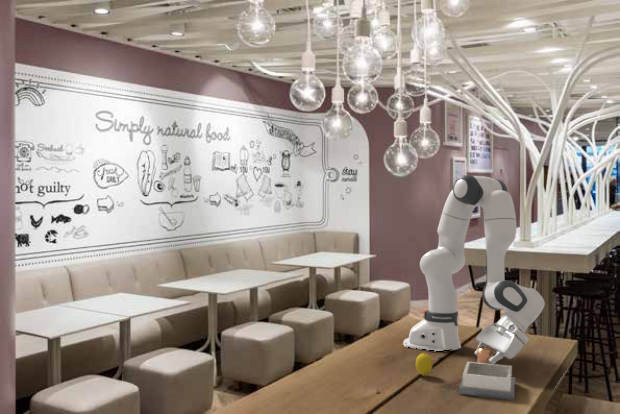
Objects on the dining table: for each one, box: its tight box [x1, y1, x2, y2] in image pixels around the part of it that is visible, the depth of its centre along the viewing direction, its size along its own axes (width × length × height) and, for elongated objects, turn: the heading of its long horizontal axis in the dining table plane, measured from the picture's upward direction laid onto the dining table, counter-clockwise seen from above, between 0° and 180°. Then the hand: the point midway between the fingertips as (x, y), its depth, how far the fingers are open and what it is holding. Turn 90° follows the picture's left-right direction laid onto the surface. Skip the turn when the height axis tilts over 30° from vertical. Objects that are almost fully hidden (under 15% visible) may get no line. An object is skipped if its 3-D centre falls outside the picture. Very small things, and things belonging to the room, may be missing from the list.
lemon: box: [415, 352, 433, 377], centre depth 206 cm, size 6×6×8 cm
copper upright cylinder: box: [476, 343, 494, 364], centre depth 211 cm, size 5×5×10 cm
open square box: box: [458, 361, 516, 401], centre depth 193 cm, size 16×16×6 cm
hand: (483, 358), depth 211 cm, fingers open, 8 cm apart
